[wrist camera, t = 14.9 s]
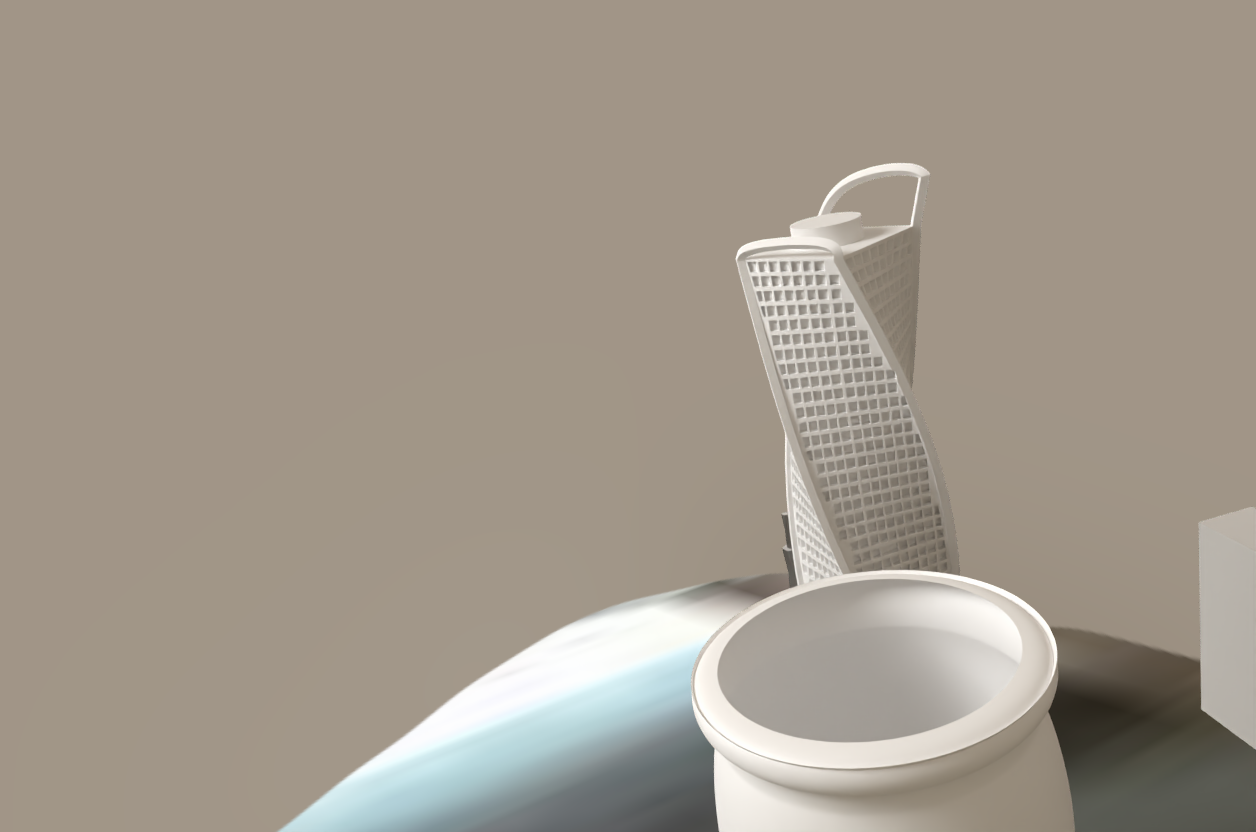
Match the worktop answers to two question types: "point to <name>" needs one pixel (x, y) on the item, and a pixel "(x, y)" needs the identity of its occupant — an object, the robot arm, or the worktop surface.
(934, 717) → the jar
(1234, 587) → the robot arm
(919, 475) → the skyscraper
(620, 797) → the worktop surface
